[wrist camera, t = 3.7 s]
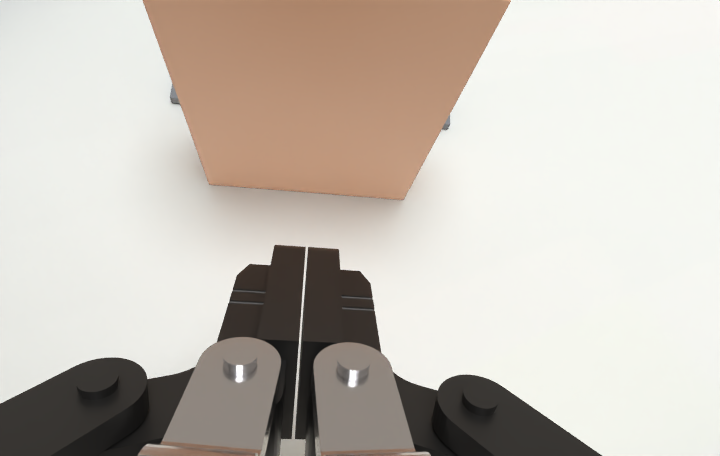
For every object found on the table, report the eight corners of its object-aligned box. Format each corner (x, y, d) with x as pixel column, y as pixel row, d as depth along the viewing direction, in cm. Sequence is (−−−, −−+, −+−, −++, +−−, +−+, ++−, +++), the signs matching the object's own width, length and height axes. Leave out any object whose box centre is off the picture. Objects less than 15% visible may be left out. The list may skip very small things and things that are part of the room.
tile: (209, 184, 26) (125, -48, 13) (216, 132, 27) (146, -133, 14) (403, 199, 27) (510, 1, 14) (403, 149, 28) (503, -81, 15)
